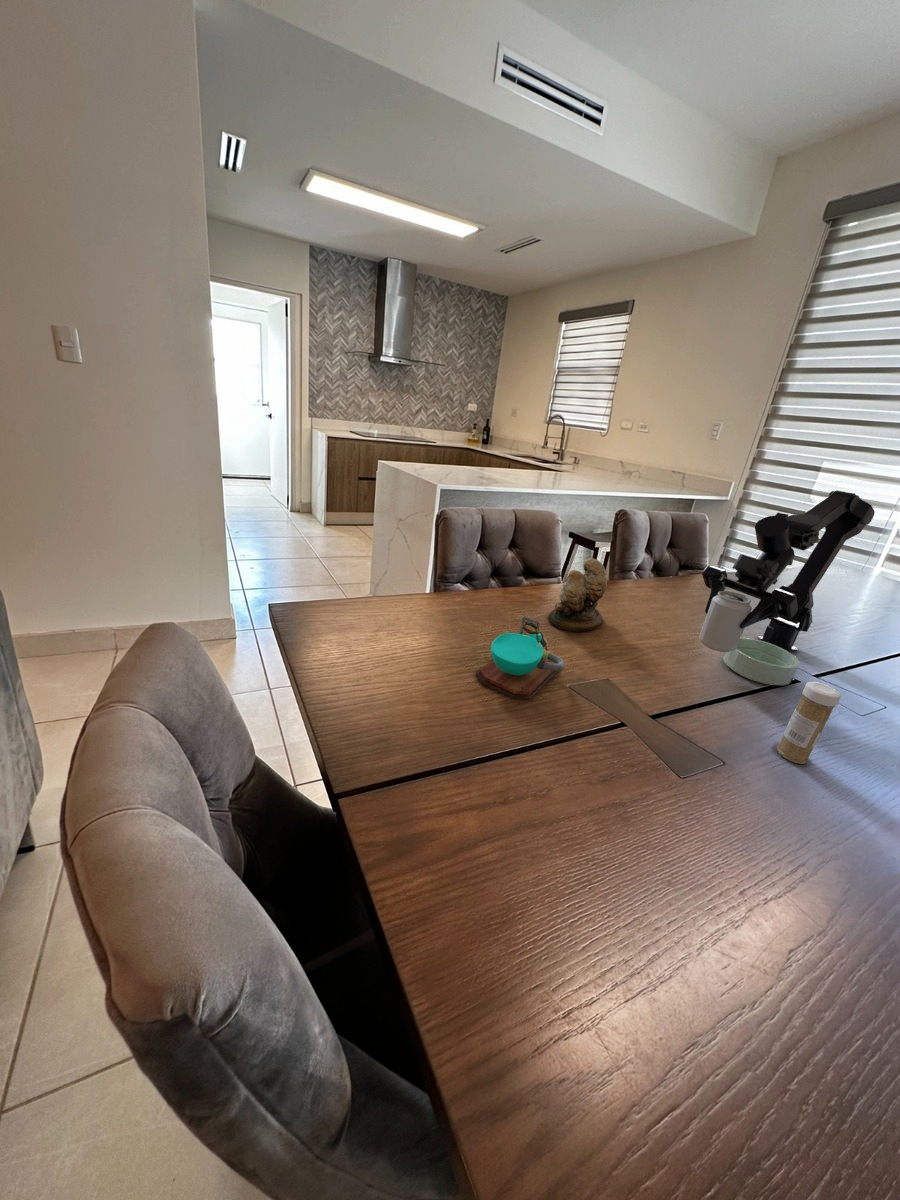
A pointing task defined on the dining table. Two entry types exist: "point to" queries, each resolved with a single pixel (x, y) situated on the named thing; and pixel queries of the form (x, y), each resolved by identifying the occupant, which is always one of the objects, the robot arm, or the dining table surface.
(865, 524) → the robot arm
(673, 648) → the dining table surface
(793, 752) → the sprinkles bottle
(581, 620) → the owl figurine
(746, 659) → the basin
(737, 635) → the can
